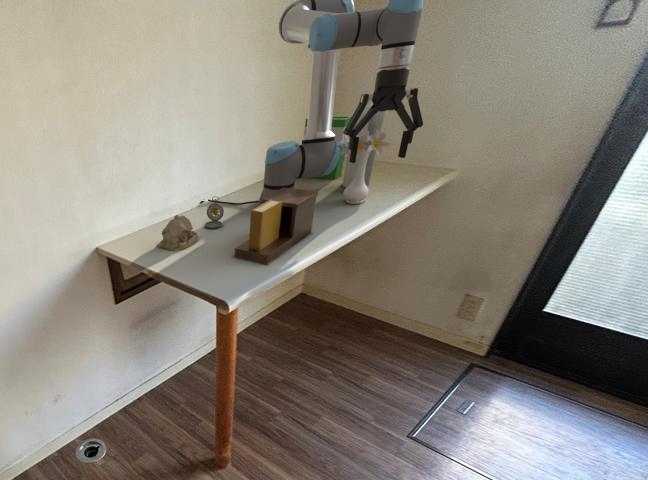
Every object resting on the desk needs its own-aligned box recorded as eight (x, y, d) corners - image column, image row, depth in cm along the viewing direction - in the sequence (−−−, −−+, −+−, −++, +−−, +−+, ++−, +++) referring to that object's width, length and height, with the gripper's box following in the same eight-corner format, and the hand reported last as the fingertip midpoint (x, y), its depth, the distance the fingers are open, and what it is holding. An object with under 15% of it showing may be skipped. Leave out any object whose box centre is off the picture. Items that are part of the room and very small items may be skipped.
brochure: (367, 192, 173) (386, 108, 154) (353, 193, 174) (371, 110, 155) (354, 183, 184) (371, 104, 166) (342, 184, 185) (356, 105, 166)
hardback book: (298, 176, 202) (305, 119, 187) (305, 172, 206) (312, 116, 191) (335, 179, 192) (345, 119, 177) (341, 175, 196) (352, 116, 181)
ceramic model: (172, 253, 144) (171, 224, 138) (153, 245, 151) (151, 217, 145) (203, 241, 150) (202, 213, 143) (183, 233, 157) (182, 206, 151)
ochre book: (248, 248, 134) (250, 210, 126) (267, 236, 140) (271, 199, 132) (259, 250, 131) (262, 212, 124) (278, 238, 138) (282, 200, 130)
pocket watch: (208, 230, 157) (208, 203, 151) (200, 223, 164) (200, 197, 157) (228, 226, 158) (229, 199, 152) (219, 220, 165) (220, 193, 159)
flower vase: (338, 194, 175) (351, 126, 160) (382, 201, 164) (401, 128, 148) (322, 202, 169) (333, 133, 154) (366, 210, 158) (383, 136, 142)
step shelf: (233, 256, 137) (235, 213, 128) (279, 227, 153) (283, 187, 144) (267, 264, 130) (271, 220, 121) (311, 233, 146) (318, 191, 137)
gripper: (349, 73, 105) (336, 166, 117) (452, 61, 103) (429, 156, 114) (338, 75, 111) (327, 162, 123) (436, 63, 109) (415, 153, 121)
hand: (376, 160), depth 119 cm, fingers open, 13 cm apart
